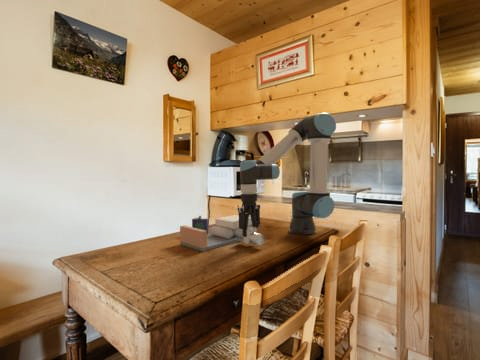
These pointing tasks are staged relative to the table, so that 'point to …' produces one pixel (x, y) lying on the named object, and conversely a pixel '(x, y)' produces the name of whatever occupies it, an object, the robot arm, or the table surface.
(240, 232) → the loose roller
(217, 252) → the table surface
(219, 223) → the stone slab
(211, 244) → the roller bed
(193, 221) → the flask
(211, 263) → the table surface
